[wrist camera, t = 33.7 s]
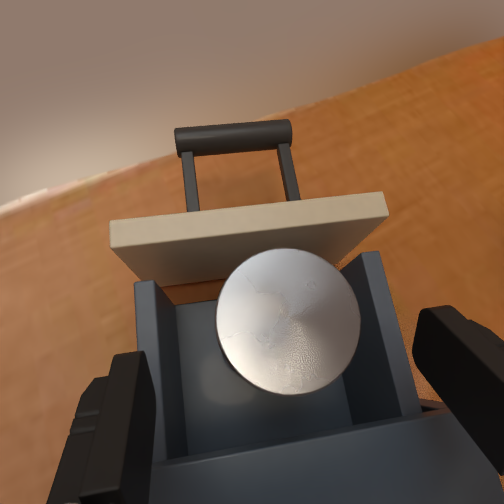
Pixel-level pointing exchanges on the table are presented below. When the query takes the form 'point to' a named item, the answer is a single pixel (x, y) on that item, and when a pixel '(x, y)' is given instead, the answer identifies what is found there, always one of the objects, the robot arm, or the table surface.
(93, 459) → the robot arm
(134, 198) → the table surface
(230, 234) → the drawer
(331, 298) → the steel cylinder
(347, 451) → the cabinet
